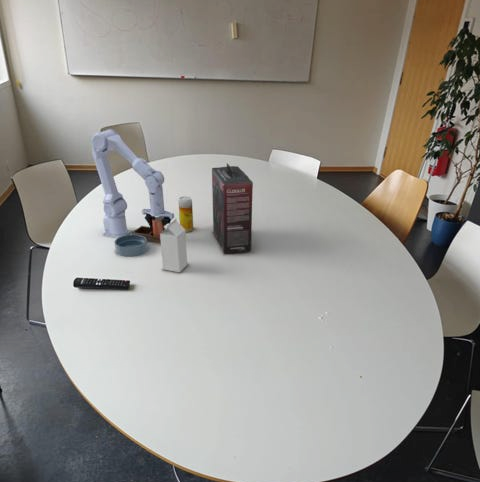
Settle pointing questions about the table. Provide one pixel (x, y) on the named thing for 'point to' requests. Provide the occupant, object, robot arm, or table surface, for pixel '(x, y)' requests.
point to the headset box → (232, 208)
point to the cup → (157, 226)
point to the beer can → (186, 213)
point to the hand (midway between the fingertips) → (159, 231)
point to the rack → (147, 234)
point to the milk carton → (173, 247)
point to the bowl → (131, 245)
